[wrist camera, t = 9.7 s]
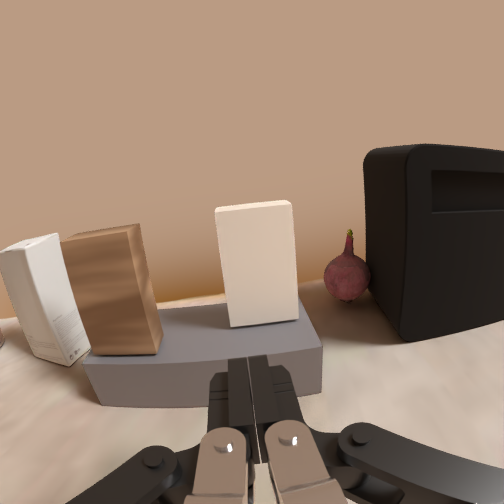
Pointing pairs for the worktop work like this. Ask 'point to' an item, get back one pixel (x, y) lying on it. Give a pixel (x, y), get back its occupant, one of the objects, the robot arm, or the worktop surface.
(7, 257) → the skincare box
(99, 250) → the walnut key
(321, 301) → the worktop surface
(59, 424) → the worktop surface
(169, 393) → the keypad base
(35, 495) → the worktop surface
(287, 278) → the wooden block
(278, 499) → the robot arm
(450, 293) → the air purifier
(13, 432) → the worktop surface
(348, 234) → the vegetable
